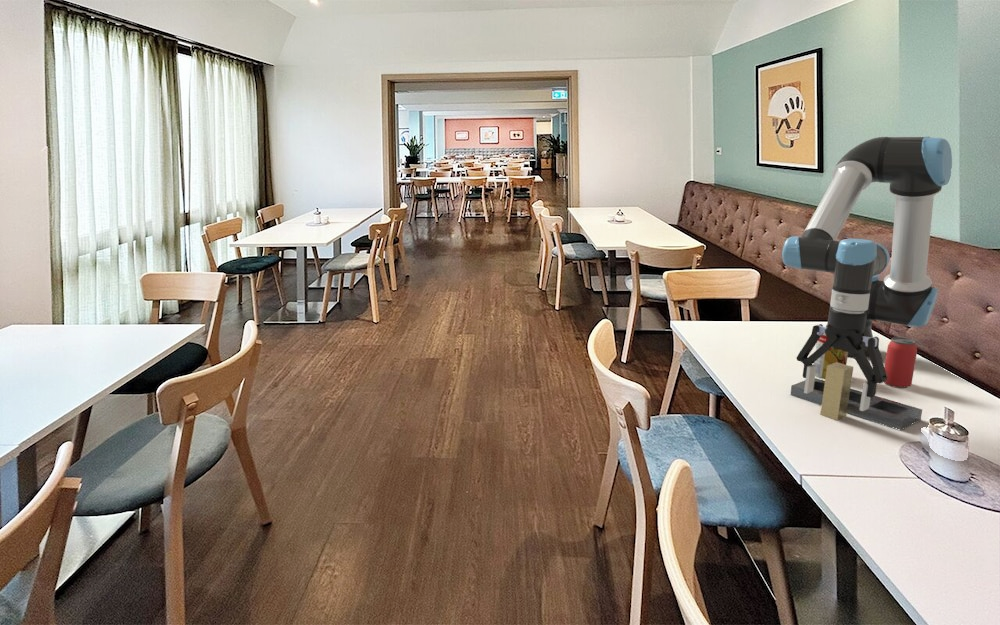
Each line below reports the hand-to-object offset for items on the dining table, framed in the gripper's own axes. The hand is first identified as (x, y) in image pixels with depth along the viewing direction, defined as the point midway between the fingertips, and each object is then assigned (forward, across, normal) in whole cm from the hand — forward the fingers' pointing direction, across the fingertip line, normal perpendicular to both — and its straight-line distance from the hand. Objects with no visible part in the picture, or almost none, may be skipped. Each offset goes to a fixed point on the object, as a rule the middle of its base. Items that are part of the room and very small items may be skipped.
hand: (835, 400), depth 156 cm
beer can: (+4, -1, +34) cm, 34 cm away
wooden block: (+4, 0, 0) cm, 4 cm away
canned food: (+4, -15, +26) cm, 30 cm away
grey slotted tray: (+4, 0, +9) cm, 10 cm away
